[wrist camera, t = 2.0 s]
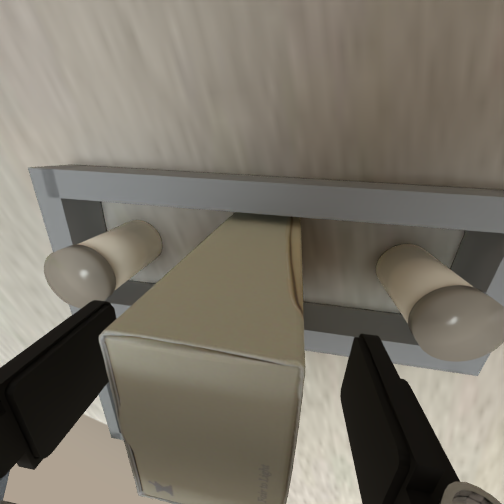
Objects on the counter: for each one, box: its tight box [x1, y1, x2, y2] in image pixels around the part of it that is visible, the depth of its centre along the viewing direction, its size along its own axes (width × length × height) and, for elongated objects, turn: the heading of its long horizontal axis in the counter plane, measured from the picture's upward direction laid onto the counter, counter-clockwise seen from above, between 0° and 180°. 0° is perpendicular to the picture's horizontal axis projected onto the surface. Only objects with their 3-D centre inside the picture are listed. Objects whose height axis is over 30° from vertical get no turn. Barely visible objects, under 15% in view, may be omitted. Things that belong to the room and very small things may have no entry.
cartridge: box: [376, 244, 504, 362], centre depth 13 cm, size 3×3×6 cm
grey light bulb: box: [44, 220, 162, 308], centre depth 15 cm, size 3×3×6 cm
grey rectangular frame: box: [28, 165, 504, 376], centre depth 15 cm, size 27×10×3 cm, turn 88°
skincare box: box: [99, 212, 305, 504], centre depth 11 cm, size 6×4×12 cm
